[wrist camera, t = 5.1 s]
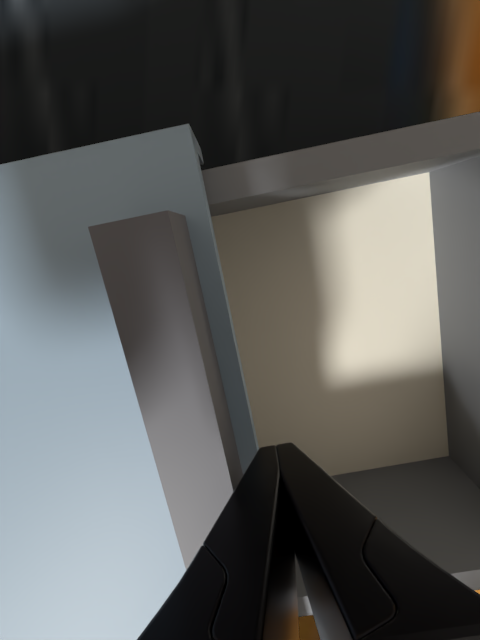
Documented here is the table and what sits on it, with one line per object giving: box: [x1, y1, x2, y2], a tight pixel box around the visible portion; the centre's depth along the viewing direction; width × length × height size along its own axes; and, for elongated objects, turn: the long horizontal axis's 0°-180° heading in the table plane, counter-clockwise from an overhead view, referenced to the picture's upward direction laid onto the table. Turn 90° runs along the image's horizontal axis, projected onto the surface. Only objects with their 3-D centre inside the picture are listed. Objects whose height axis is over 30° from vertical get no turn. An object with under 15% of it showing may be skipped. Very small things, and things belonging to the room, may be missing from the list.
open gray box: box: [201, 112, 480, 617], centre depth 13 cm, size 14×22×6 cm, turn 101°
